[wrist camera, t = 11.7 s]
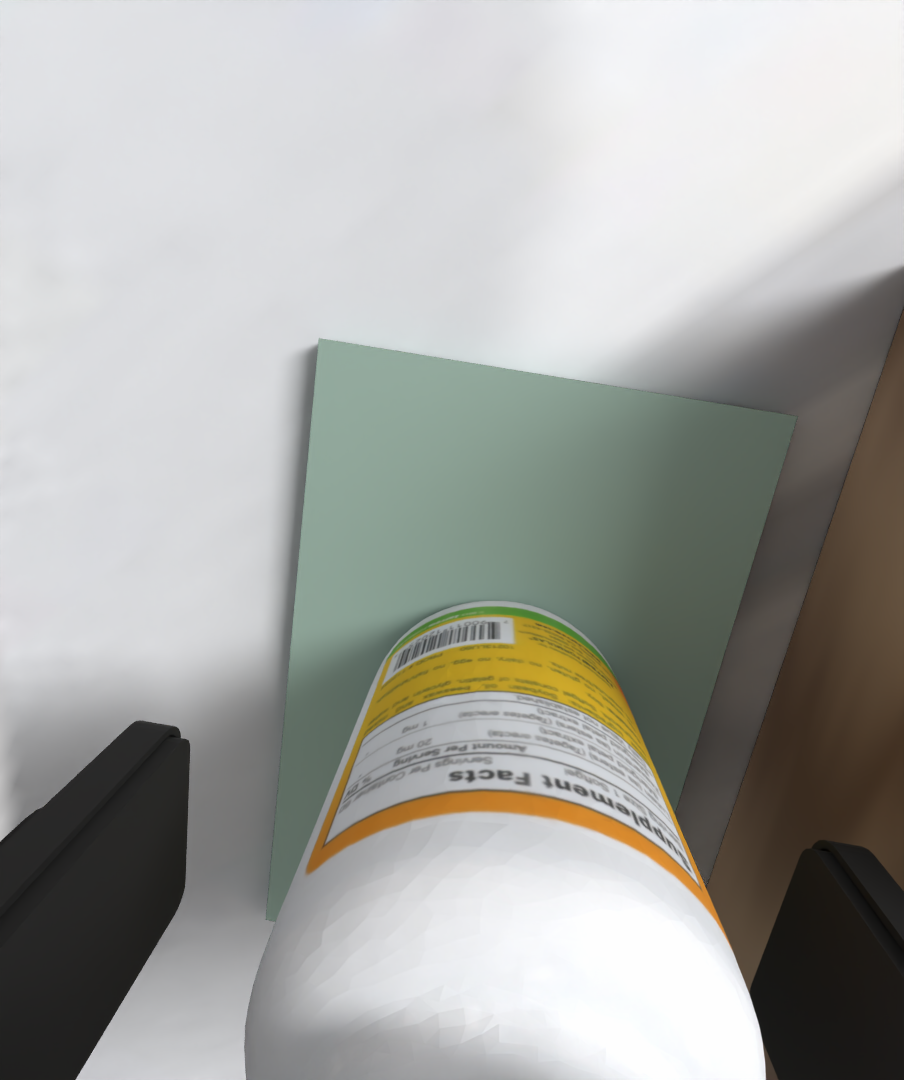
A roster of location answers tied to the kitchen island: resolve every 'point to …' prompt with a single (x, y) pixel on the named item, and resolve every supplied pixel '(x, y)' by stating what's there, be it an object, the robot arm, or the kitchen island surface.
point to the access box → (831, 701)
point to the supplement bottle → (498, 884)
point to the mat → (514, 541)
